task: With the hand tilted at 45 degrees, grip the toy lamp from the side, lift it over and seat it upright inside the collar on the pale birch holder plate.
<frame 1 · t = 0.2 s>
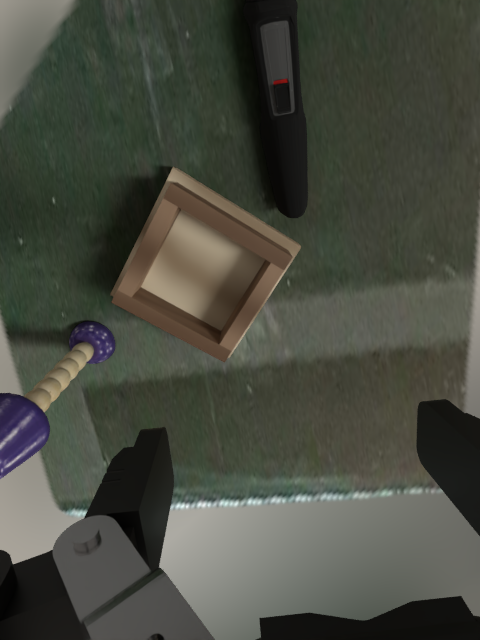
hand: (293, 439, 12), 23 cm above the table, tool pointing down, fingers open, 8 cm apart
toy lamp: (90, 340, 36), on the table
electric trimmer: (281, 108, 30), on the table
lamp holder: (205, 267, 34), on the table
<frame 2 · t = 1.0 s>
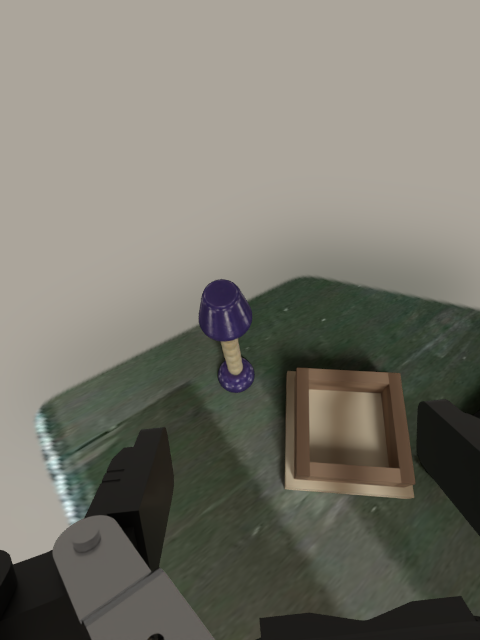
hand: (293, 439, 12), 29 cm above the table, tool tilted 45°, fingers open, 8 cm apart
toy lamp: (234, 373, 44), on the table
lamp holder: (342, 432, 40), on the table
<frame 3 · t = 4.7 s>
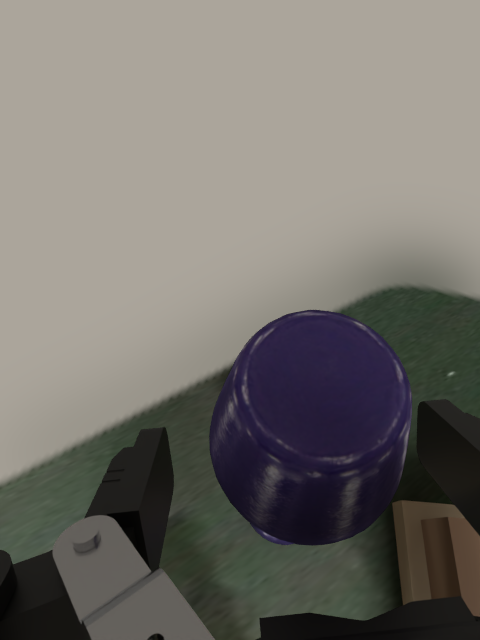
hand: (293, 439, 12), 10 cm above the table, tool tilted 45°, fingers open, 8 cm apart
toy lamp: (278, 493, 21), on the table
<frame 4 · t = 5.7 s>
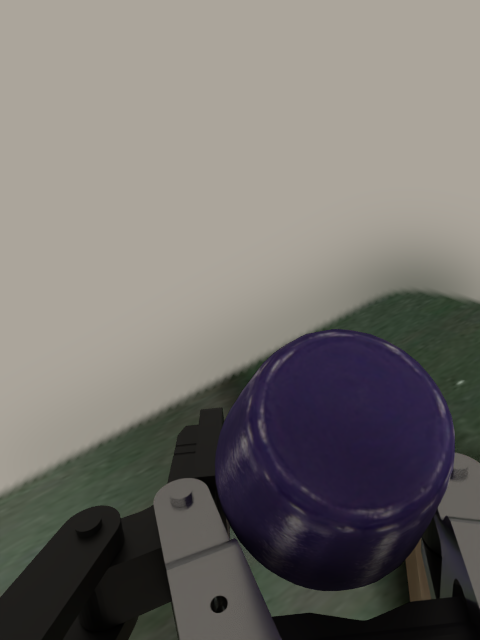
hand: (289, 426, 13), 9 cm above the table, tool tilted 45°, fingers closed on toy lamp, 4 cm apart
toy lamp: (282, 508, 20), on the table, touching gripper
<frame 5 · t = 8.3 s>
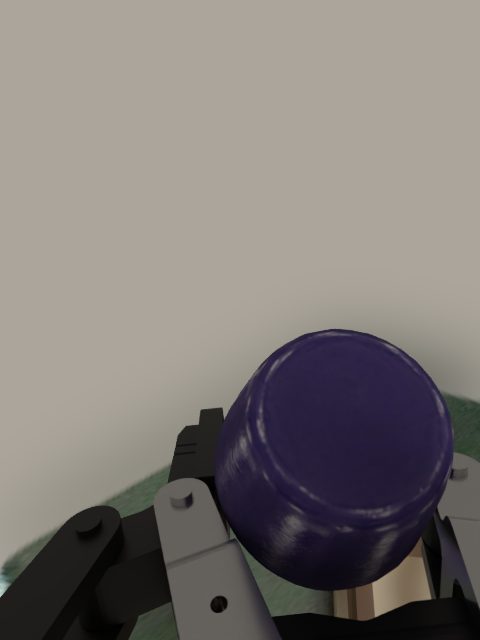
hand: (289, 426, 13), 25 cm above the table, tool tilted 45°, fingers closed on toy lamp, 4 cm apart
toy lamp: (281, 508, 20), point 15 cm above the table, touching gripper
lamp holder: (411, 615, 30), on the table
when the fingers open (12 cm above the table, at t = 13.0 s): toy lamp drops 1 cm, resting on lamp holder.
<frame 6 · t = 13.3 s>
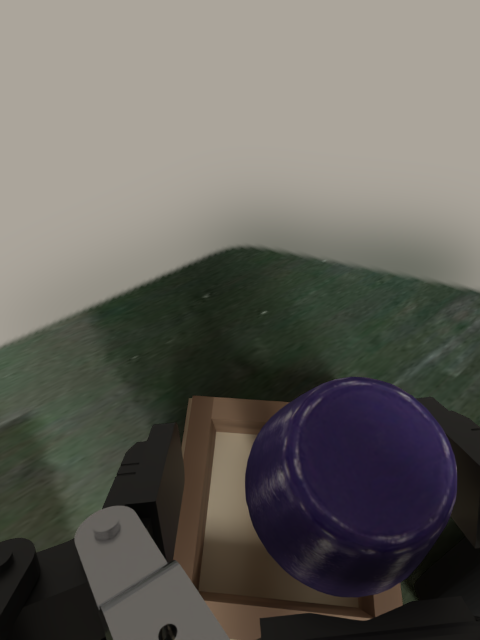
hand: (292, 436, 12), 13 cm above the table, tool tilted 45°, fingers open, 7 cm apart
toy lamp: (292, 514, 21), point 1 cm above the table, touching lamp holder
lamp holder: (278, 511, 22), on the table
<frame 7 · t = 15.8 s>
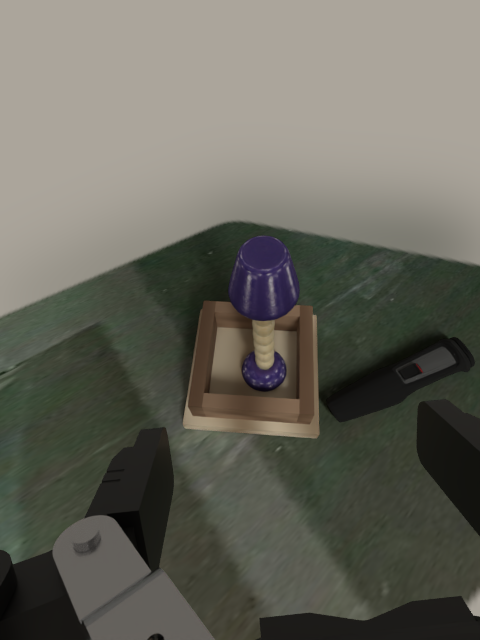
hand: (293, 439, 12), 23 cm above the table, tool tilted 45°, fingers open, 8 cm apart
toy lamp: (262, 368, 36), point 1 cm above the table, touching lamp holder
electric trimmer: (398, 385, 37), on the table
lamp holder: (254, 372, 37), on the table
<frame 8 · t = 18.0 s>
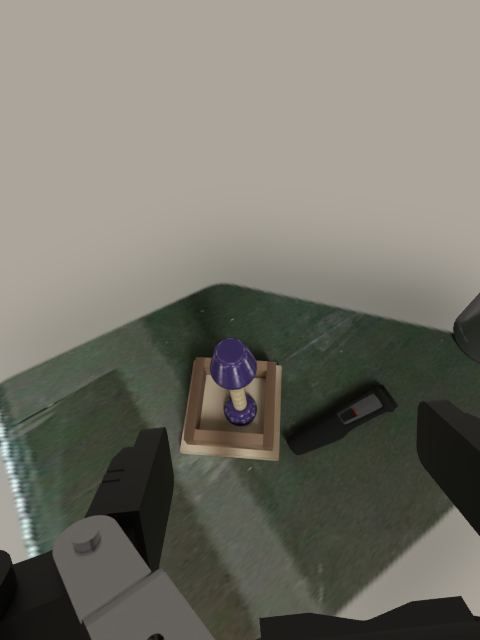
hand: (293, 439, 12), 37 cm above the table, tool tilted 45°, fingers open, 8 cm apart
toy lamp: (239, 407, 49), point 1 cm above the table, touching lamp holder
electric trimmer: (342, 423, 49), on the table
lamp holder: (234, 409, 50), on the table
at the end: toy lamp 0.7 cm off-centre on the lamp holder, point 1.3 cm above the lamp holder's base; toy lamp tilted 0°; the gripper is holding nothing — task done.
